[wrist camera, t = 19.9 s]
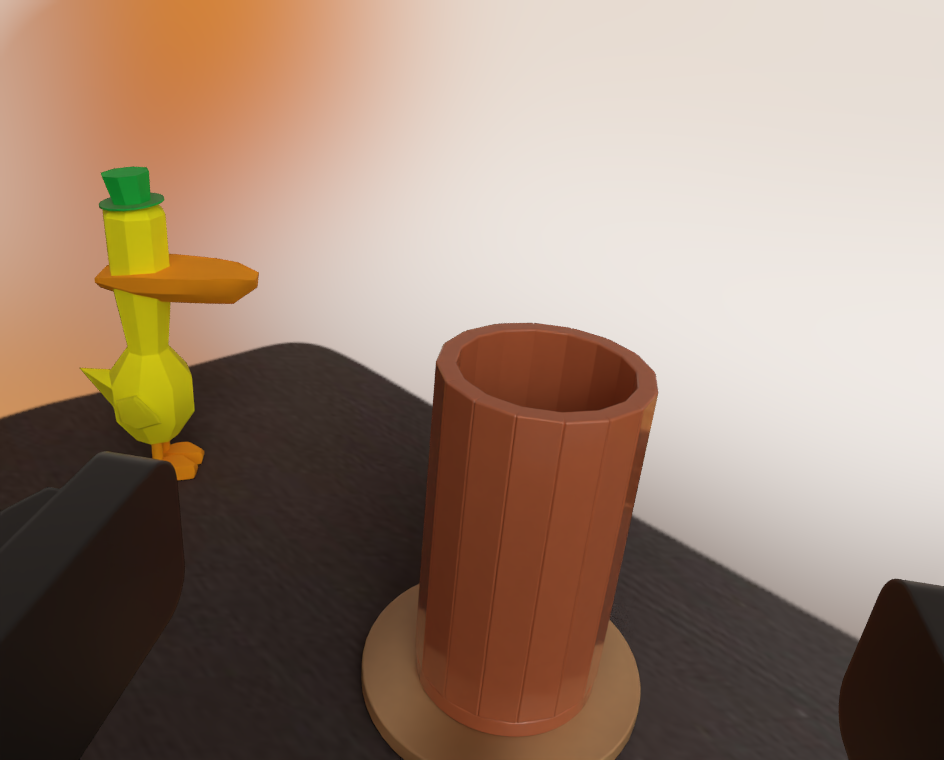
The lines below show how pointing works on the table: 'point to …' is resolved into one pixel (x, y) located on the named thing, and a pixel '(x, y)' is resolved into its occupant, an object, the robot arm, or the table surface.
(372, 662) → the trivet
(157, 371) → the toy figure
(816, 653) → the table surface
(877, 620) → the robot arm
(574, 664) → the pot
